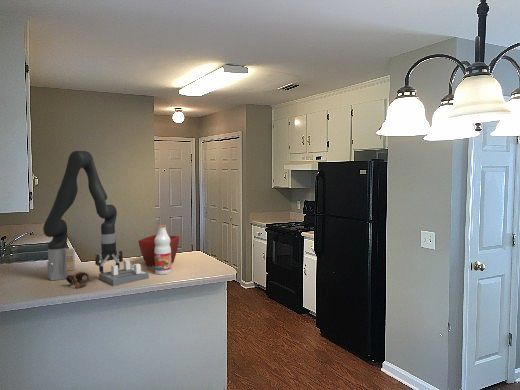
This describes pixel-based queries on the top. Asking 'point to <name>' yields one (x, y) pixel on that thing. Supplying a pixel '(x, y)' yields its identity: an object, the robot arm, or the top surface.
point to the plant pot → (149, 245)
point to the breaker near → (137, 268)
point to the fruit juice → (162, 251)
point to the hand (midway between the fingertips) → (109, 271)
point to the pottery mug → (78, 279)
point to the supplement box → (70, 259)
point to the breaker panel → (123, 276)
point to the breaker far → (126, 264)
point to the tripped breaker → (114, 269)
